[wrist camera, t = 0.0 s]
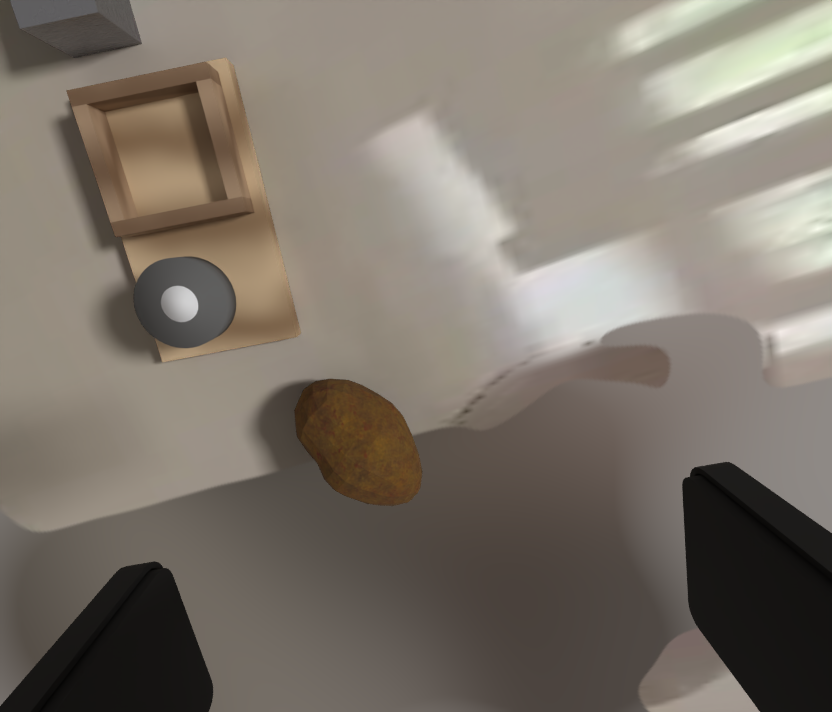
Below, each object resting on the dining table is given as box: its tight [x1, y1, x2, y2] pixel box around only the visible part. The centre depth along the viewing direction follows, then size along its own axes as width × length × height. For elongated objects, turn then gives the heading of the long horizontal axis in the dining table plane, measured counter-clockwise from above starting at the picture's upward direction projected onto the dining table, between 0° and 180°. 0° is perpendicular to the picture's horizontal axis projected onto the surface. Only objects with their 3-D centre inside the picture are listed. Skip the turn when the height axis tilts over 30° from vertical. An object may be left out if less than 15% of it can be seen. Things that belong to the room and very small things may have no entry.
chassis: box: [67, 58, 301, 362], centre depth 35 cm, size 20×11×4 cm, turn 11°
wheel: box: [134, 256, 236, 348], centre depth 32 cm, size 6×6×2 cm
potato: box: [294, 379, 422, 506], centre depth 38 cm, size 8×12×8 cm, turn 50°
